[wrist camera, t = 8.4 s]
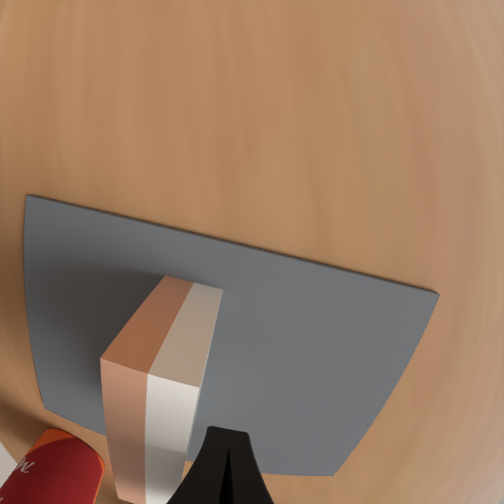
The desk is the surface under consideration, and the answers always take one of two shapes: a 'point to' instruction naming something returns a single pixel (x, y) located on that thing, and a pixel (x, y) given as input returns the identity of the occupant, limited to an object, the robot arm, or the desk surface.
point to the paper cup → (55, 472)
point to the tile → (157, 387)
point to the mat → (222, 331)
